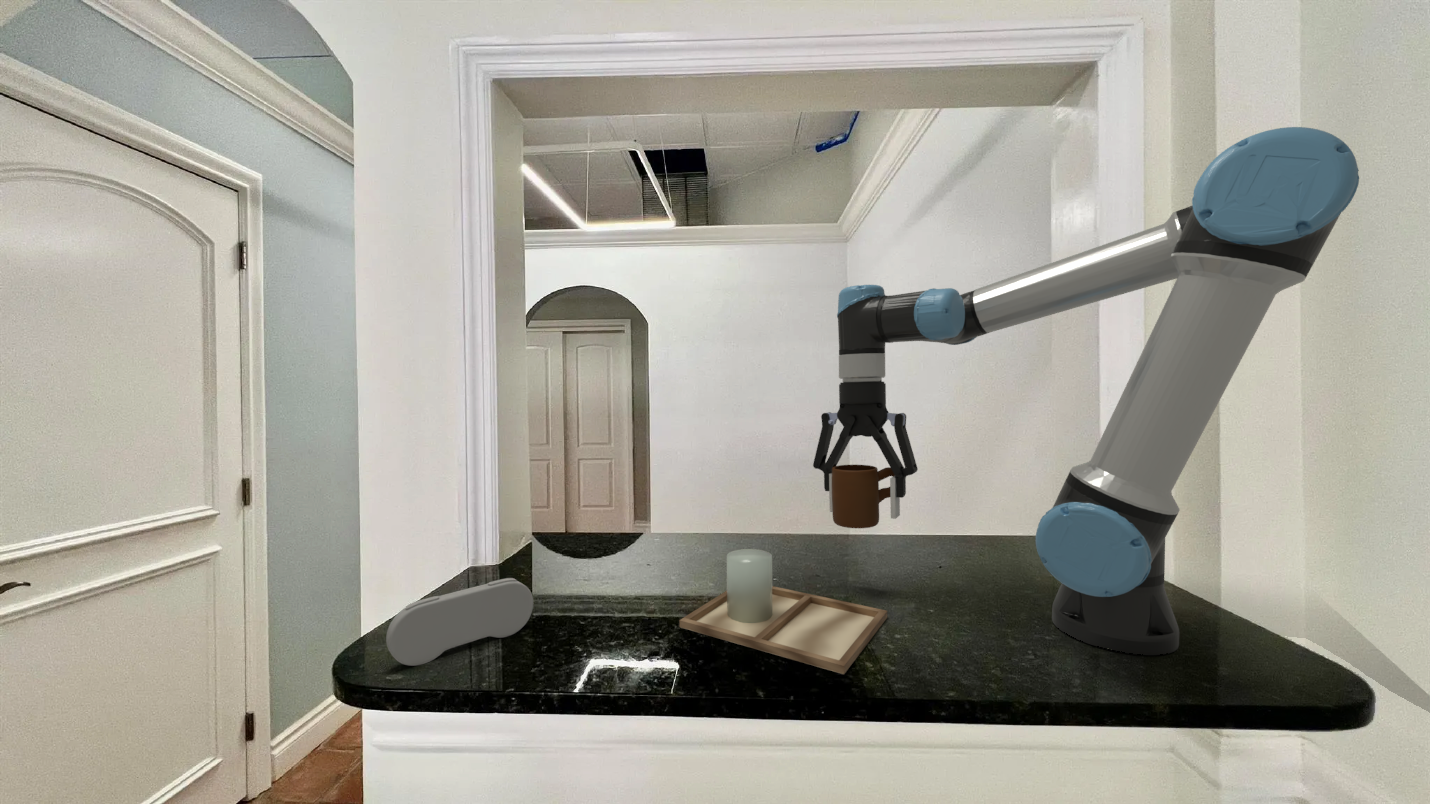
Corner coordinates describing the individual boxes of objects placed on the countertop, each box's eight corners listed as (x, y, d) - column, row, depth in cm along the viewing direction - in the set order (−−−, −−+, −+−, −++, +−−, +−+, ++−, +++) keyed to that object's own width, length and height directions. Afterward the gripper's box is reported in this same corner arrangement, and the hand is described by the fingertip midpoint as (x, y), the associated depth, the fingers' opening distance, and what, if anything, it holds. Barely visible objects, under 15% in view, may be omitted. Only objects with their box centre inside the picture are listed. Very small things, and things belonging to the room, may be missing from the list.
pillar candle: (780, 610, 88) (779, 553, 87) (759, 627, 82) (758, 566, 82) (741, 600, 92) (741, 546, 91) (718, 616, 86) (718, 558, 85)
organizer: (887, 625, 85) (887, 610, 85) (844, 683, 69) (844, 666, 69) (743, 592, 98) (743, 579, 98) (679, 634, 82) (679, 620, 82)
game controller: (528, 623, 87) (526, 570, 87) (534, 628, 85) (533, 574, 85) (386, 669, 74) (384, 607, 73) (390, 675, 72) (388, 612, 72)
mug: (894, 516, 98) (893, 462, 98) (913, 526, 90) (912, 468, 90) (827, 519, 97) (825, 465, 97) (840, 530, 89) (839, 471, 89)
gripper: (937, 378, 91) (938, 515, 91) (808, 381, 103) (810, 502, 103) (926, 378, 84) (928, 526, 85) (791, 382, 96) (793, 511, 97)
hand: (864, 513), depth 94 cm, fingers closed on mug, 10 cm apart
